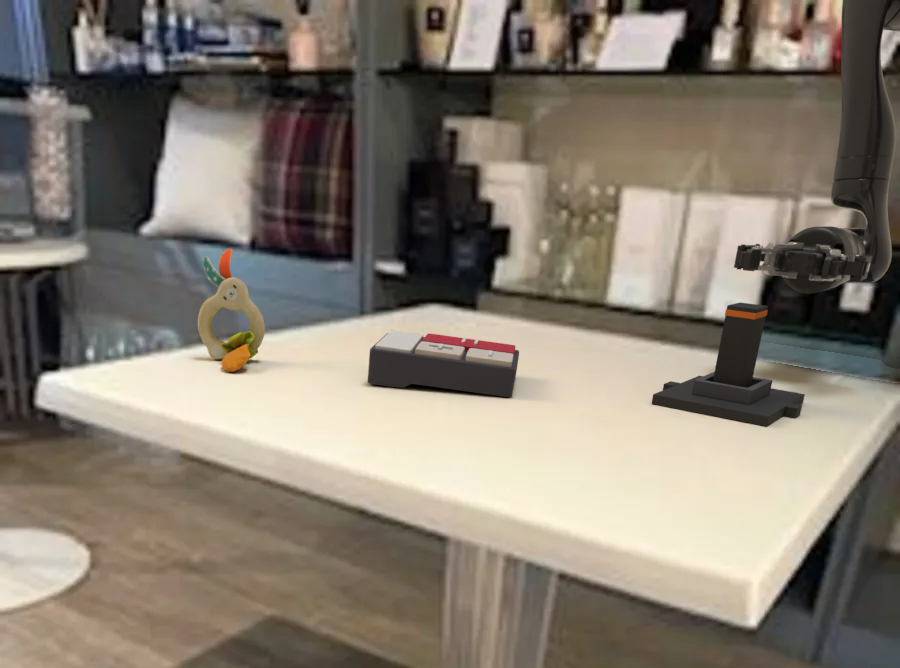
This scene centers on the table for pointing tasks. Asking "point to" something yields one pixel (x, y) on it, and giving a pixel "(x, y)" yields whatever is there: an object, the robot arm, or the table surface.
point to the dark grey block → (740, 344)
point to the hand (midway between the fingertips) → (785, 264)
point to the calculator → (443, 363)
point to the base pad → (731, 399)
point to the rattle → (232, 298)
